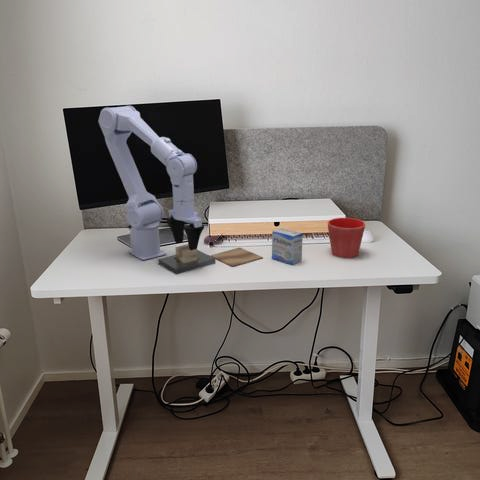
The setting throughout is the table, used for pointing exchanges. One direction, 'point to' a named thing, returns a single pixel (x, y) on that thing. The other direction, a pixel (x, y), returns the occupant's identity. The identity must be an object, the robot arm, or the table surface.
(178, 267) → the holder
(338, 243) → the flower pot
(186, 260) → the square plug
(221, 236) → the video game controller
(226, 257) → the mat
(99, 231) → the table surface
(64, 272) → the table surface
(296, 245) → the medicine box
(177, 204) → the robot arm
